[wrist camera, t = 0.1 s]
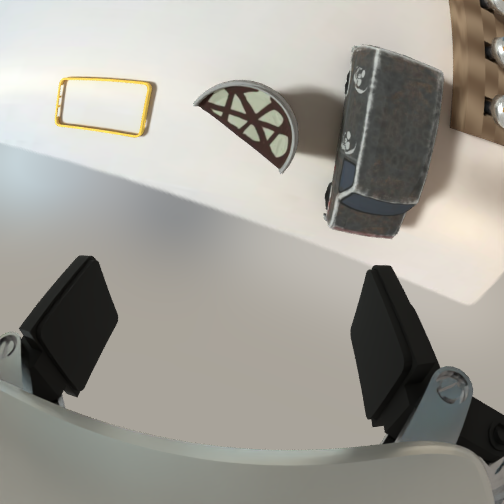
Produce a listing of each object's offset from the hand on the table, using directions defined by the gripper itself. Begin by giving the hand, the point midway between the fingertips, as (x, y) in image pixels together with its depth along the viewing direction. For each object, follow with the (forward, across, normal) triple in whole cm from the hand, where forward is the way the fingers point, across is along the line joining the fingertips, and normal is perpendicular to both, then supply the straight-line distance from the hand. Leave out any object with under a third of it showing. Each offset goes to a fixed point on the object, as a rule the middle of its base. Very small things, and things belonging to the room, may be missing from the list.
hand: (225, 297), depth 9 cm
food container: (+31, 0, -4) cm, 32 cm away
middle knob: (+28, -33, -19) cm, 47 cm away
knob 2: (+28, -33, -10) cm, 44 cm away
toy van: (+32, -15, -1) cm, 35 cm away
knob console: (+31, -33, -19) cm, 49 cm away
